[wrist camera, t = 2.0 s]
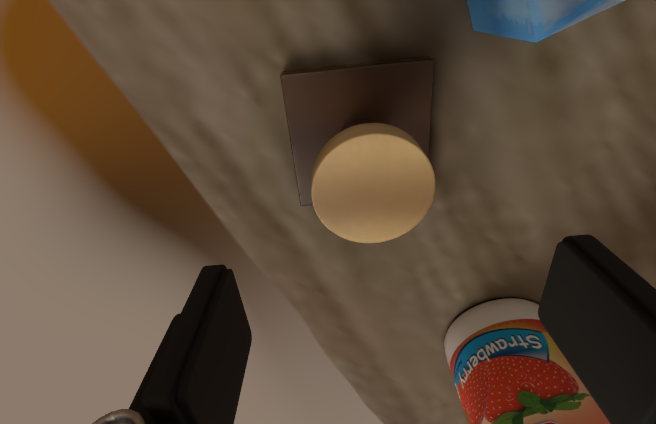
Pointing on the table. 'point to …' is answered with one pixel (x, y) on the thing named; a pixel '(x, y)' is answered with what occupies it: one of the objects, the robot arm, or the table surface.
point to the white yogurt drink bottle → (514, 369)
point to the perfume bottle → (532, 16)
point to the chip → (372, 183)
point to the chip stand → (354, 105)
